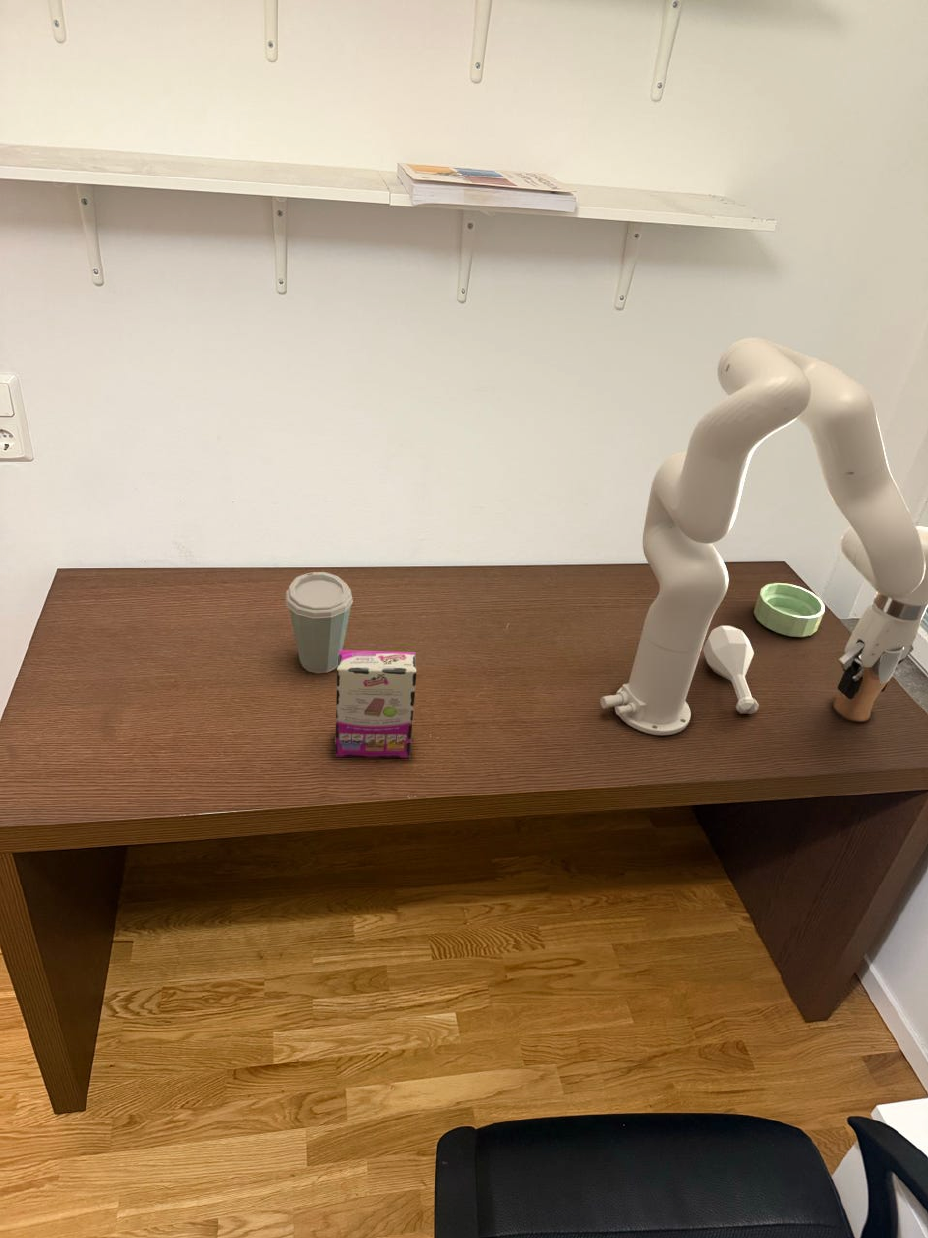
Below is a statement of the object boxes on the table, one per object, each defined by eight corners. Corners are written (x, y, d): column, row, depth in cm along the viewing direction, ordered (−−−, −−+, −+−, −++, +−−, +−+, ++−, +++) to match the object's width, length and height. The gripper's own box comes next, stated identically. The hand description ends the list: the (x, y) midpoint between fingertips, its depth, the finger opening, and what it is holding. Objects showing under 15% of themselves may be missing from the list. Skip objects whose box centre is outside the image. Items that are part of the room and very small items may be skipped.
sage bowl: (780, 643, 172) (788, 622, 169) (740, 608, 181) (747, 587, 178) (829, 634, 176) (838, 612, 174) (788, 600, 185) (795, 579, 183)
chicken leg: (714, 719, 152) (749, 691, 147) (689, 640, 164) (720, 611, 159) (751, 732, 155) (786, 705, 150) (723, 654, 168) (754, 626, 163)
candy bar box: (408, 736, 139) (417, 650, 130) (409, 759, 135) (418, 672, 126) (334, 734, 138) (338, 647, 128) (333, 757, 133) (336, 669, 124)
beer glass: (853, 694, 161) (884, 625, 152) (881, 720, 155) (914, 649, 147) (822, 700, 158) (852, 630, 150) (849, 726, 153) (881, 655, 145)
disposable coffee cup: (360, 674, 150) (364, 598, 142) (297, 688, 145) (298, 611, 137) (336, 638, 158) (339, 565, 149) (276, 651, 153) (275, 575, 144)
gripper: (921, 583, 150) (881, 669, 160) (843, 597, 144) (806, 685, 154) (957, 608, 145) (913, 695, 155) (877, 623, 138) (837, 713, 148)
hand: (860, 689), depth 154 cm, fingers closed on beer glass, 6 cm apart
